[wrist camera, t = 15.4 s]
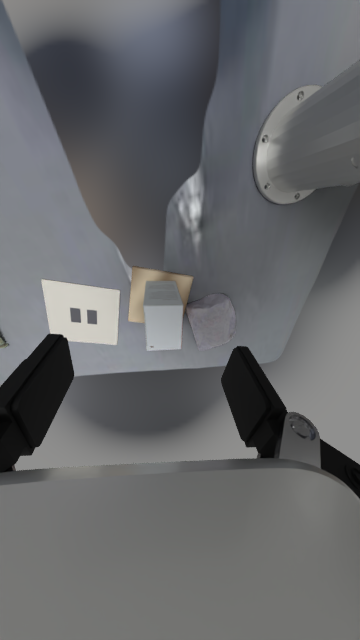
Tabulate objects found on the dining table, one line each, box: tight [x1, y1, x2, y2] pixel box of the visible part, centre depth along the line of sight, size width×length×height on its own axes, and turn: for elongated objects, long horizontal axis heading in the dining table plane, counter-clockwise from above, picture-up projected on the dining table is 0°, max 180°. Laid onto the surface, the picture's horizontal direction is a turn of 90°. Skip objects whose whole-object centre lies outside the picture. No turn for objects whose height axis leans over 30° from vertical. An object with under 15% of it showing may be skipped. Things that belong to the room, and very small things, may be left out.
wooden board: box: [128, 266, 193, 323], centre depth 35 cm, size 11×11×1 cm
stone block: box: [186, 293, 236, 350], centre depth 39 cm, size 12×5×10 cm
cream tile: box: [41, 279, 120, 345], centre depth 36 cm, size 13×13×1 cm
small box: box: [143, 281, 184, 351], centre depth 31 cm, size 8×6×10 cm
